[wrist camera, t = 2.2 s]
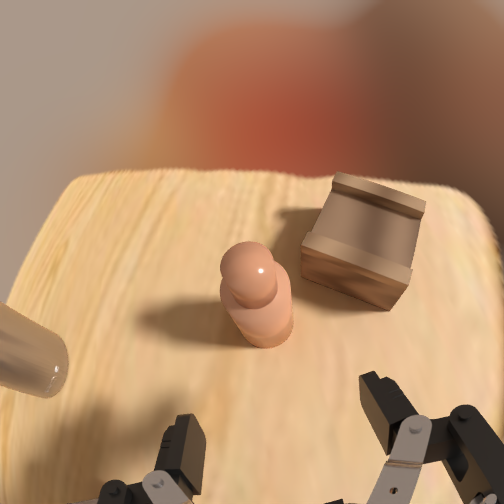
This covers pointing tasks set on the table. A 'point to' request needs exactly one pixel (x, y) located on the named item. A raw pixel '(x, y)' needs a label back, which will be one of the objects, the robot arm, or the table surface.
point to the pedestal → (363, 241)
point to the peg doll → (257, 294)
